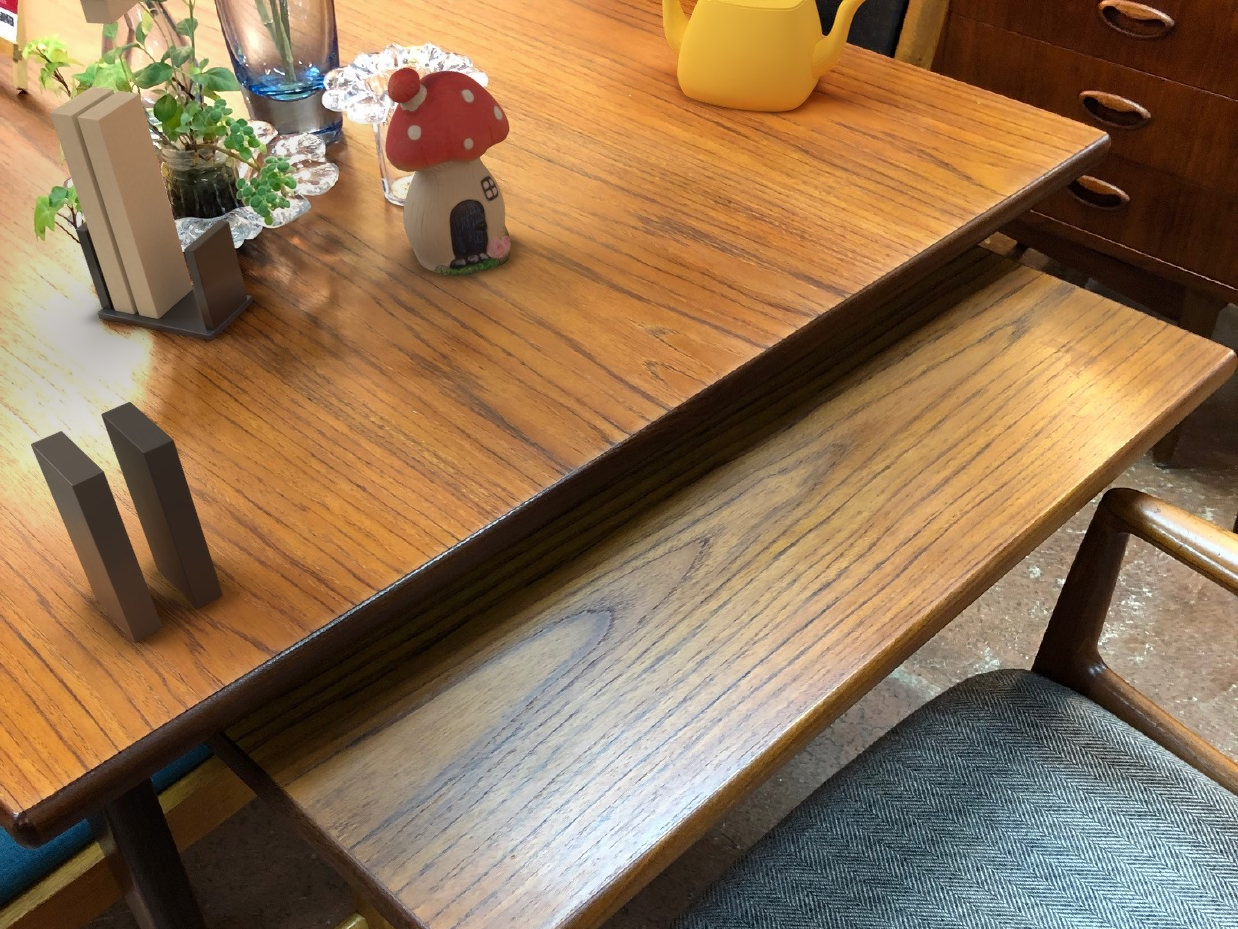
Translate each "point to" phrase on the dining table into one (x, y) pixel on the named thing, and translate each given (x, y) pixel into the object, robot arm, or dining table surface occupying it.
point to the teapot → (754, 50)
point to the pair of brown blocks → (158, 507)
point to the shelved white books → (123, 199)
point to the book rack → (202, 307)
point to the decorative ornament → (449, 170)
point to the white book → (106, 10)
